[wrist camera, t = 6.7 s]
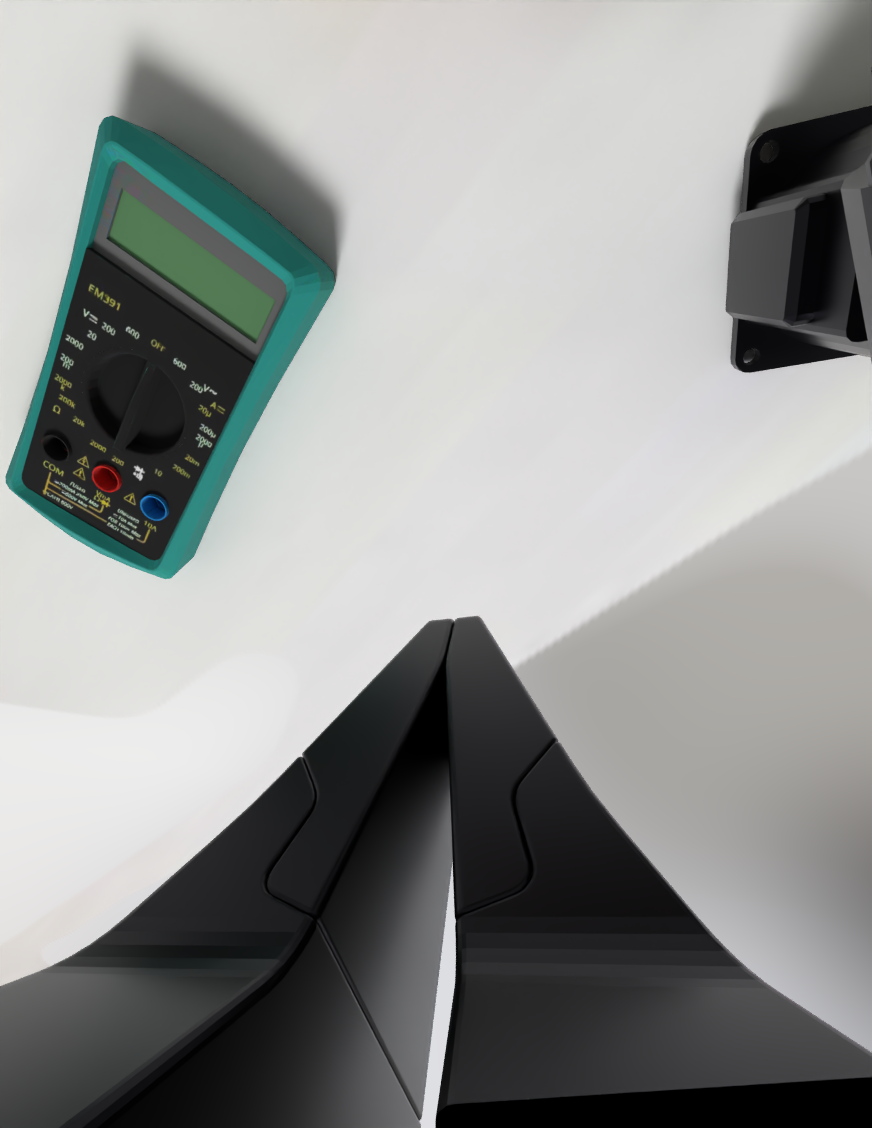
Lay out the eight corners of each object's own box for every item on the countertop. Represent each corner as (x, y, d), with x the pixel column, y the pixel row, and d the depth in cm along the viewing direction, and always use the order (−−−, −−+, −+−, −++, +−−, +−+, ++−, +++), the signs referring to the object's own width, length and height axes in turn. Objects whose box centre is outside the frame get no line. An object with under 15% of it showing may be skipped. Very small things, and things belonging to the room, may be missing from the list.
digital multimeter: (40, 477, 23) (-15, 502, 21) (151, 118, 17) (89, 91, 14) (192, 566, 25) (158, 600, 22) (348, 270, 18) (324, 270, 16)
